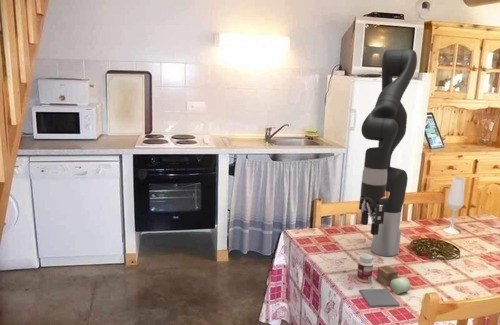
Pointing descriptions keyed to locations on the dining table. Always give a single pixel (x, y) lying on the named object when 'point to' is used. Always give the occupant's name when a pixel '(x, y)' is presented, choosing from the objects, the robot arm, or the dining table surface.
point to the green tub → (400, 285)
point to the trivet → (378, 297)
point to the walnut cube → (386, 275)
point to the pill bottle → (365, 268)
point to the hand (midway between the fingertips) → (368, 229)
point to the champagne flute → (455, 200)
